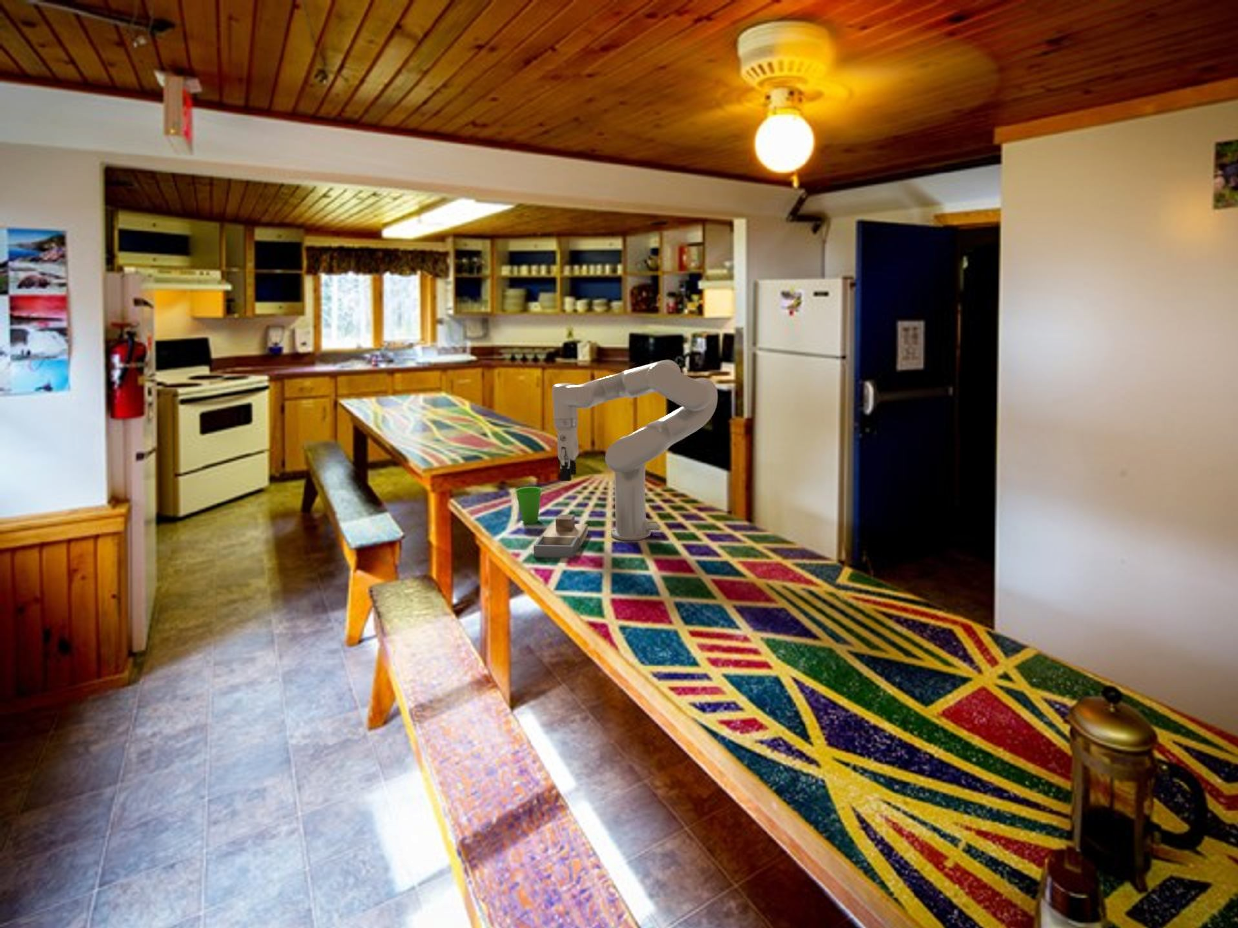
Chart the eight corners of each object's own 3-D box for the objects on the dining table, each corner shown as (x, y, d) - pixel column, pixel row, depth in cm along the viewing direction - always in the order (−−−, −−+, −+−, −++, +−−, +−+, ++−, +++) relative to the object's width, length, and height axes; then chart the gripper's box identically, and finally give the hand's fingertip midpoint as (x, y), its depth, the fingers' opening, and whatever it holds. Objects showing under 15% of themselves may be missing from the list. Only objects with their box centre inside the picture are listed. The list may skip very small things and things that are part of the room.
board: (587, 533, 230) (587, 524, 229) (580, 546, 218) (579, 537, 217) (551, 532, 232) (550, 523, 231) (541, 545, 219) (540, 536, 219)
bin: (579, 547, 217) (578, 536, 217) (573, 557, 208) (572, 546, 208) (541, 546, 219) (541, 535, 218) (534, 556, 210) (533, 545, 209)
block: (574, 526, 227) (574, 514, 226) (571, 531, 222) (571, 519, 222) (559, 526, 228) (558, 514, 227) (556, 531, 223) (555, 519, 222)
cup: (532, 526, 238) (530, 494, 236) (511, 523, 243) (509, 491, 240) (548, 519, 246) (547, 488, 243) (528, 516, 250) (526, 485, 248)
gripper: (572, 427, 217) (574, 484, 220) (582, 418, 233) (585, 471, 237) (547, 428, 218) (551, 484, 222) (560, 418, 234) (563, 471, 238)
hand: (568, 477), depth 229 cm, fingers open, 7 cm apart
